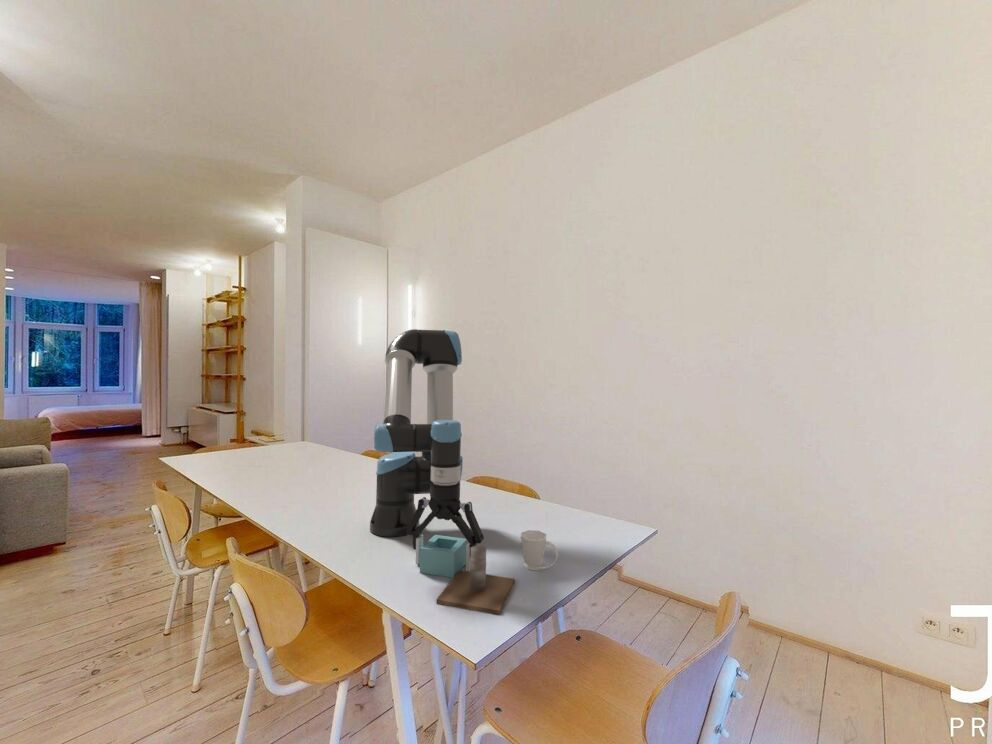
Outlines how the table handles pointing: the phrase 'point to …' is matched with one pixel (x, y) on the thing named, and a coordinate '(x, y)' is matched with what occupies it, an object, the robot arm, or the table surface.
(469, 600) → the post stand
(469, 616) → the table surface
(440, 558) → the collar
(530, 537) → the cup
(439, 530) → the table surface
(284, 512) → the table surface
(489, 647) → the table surface
